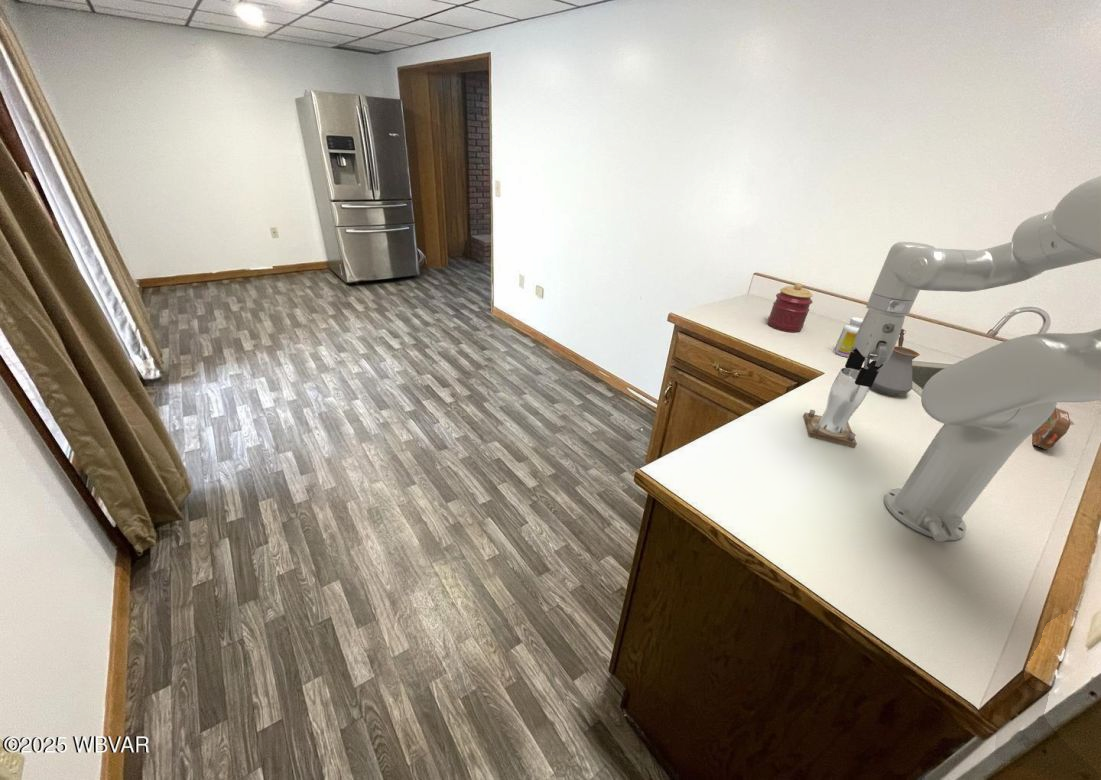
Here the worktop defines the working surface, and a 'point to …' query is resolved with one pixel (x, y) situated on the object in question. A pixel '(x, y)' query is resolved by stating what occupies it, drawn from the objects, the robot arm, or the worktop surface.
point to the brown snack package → (1051, 429)
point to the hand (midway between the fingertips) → (857, 376)
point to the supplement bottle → (848, 337)
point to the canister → (790, 309)
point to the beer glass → (842, 401)
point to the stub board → (819, 433)
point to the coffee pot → (896, 371)
